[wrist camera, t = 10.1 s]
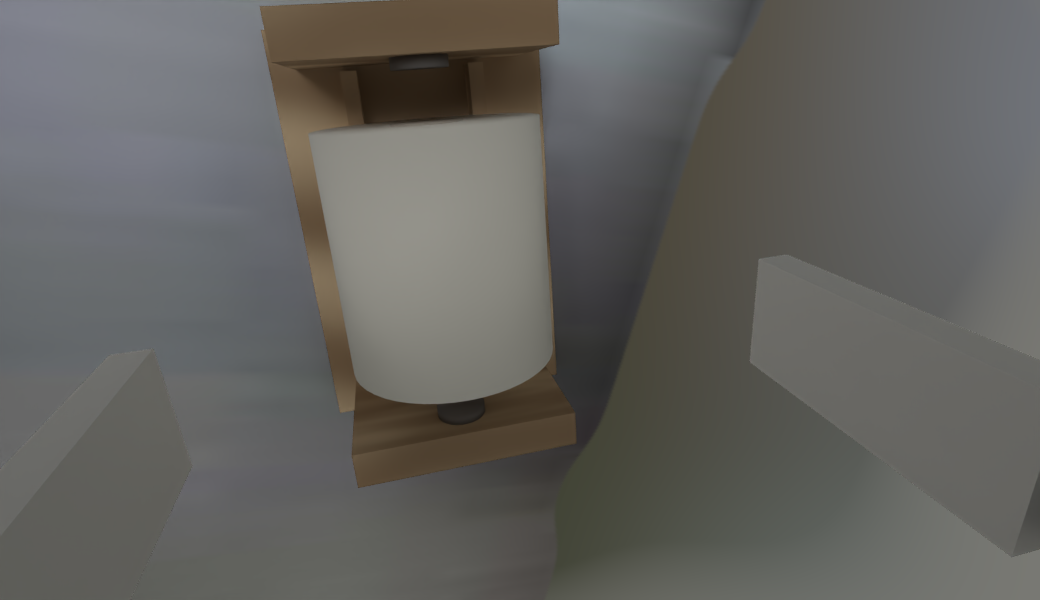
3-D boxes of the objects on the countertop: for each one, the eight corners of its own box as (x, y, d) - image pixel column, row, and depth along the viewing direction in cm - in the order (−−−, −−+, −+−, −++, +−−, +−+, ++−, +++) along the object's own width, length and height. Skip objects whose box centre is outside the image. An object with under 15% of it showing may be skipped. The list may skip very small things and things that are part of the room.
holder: (264, 31, 23) (222, 8, 17) (532, 17, 25) (586, -9, 19) (341, 404, 29) (332, 493, 23) (552, 367, 31) (598, 439, 25)
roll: (319, 125, 23) (291, 140, 16) (513, 109, 25) (568, 115, 18) (358, 331, 27) (349, 422, 19) (527, 306, 28) (579, 382, 21)
